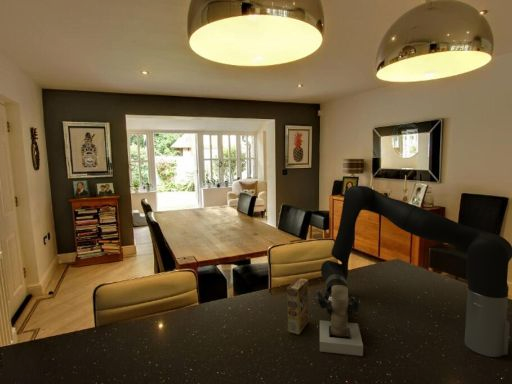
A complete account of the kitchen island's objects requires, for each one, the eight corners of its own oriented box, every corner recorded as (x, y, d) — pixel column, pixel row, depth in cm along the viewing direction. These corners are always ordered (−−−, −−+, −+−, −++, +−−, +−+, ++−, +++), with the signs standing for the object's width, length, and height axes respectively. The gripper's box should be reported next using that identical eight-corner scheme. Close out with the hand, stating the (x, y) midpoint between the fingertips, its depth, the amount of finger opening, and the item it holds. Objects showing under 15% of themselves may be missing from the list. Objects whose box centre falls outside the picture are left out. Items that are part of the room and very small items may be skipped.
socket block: (357, 332, 98) (357, 323, 98) (362, 355, 86) (363, 346, 86) (319, 328, 100) (319, 320, 100) (319, 351, 89) (319, 341, 88)
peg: (346, 328, 95) (347, 285, 93) (348, 337, 90) (348, 292, 89) (330, 326, 96) (331, 284, 94) (331, 335, 91) (332, 291, 90)
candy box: (299, 335, 97) (299, 289, 95) (287, 332, 99) (286, 286, 97) (308, 322, 105) (308, 279, 103) (297, 319, 107) (297, 277, 105)
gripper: (316, 276, 107) (315, 299, 91) (358, 279, 104) (366, 303, 88) (315, 297, 108) (315, 322, 91) (358, 300, 105) (365, 327, 89)
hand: (340, 313), depth 90 cm, fingers closed on peg, 4 cm apart
